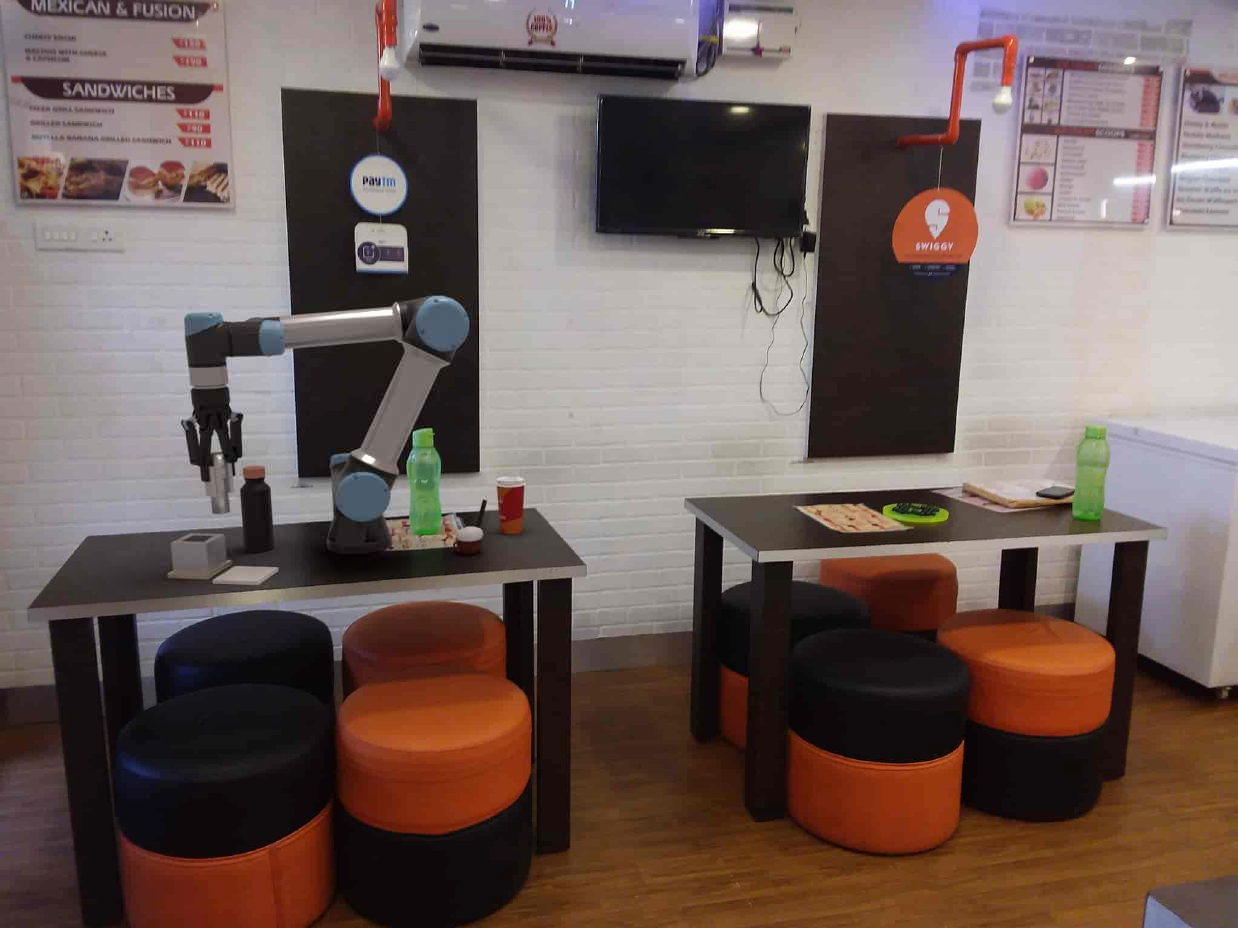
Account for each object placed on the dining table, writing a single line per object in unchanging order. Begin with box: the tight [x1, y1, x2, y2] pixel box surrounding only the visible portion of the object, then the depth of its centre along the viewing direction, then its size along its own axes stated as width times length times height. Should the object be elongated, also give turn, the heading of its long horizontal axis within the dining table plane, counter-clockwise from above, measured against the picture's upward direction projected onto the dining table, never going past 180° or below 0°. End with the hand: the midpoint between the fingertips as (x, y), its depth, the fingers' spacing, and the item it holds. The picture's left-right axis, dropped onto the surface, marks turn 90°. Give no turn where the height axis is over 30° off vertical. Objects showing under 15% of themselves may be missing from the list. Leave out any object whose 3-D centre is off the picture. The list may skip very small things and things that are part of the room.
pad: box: [212, 565, 279, 586], centre depth 206 cm, size 10×10×1 cm
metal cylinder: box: [210, 451, 231, 515], centre depth 204 cm, size 4×4×13 cm
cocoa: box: [452, 499, 488, 556], centre depth 224 cm, size 10×6×12 cm, turn 111°
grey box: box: [166, 532, 233, 581], centre depth 211 cm, size 9×16×8 cm, turn 175°
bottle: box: [239, 465, 275, 553], centre depth 225 cm, size 7×7×20 cm
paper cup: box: [495, 476, 527, 536], centre depth 242 cm, size 8×8×14 cm
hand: (220, 493), depth 204 cm, fingers closed on metal cylinder, 3 cm apart
